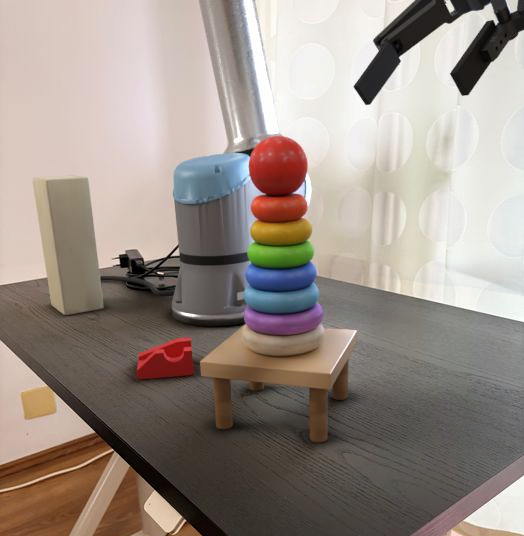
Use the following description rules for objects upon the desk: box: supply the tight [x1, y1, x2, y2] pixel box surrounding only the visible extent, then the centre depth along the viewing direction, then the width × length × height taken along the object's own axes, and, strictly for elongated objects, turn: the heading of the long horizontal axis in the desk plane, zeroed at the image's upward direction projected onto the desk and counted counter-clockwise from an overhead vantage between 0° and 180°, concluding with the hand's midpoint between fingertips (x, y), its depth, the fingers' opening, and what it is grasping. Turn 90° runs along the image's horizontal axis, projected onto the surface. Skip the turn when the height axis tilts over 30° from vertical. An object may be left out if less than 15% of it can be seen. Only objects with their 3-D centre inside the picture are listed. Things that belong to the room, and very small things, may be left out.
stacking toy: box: [241, 135, 325, 356], centre depth 53 cm, size 8×8×19 cm
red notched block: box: [136, 336, 195, 380], centre depth 69 cm, size 6×5×3 cm
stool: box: [199, 323, 358, 443], centre depth 57 cm, size 12×12×7 cm
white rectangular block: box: [31, 174, 104, 316], centre depth 95 cm, size 8×7×21 cm
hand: (405, 91), depth 61 cm, fingers open, 13 cm apart
